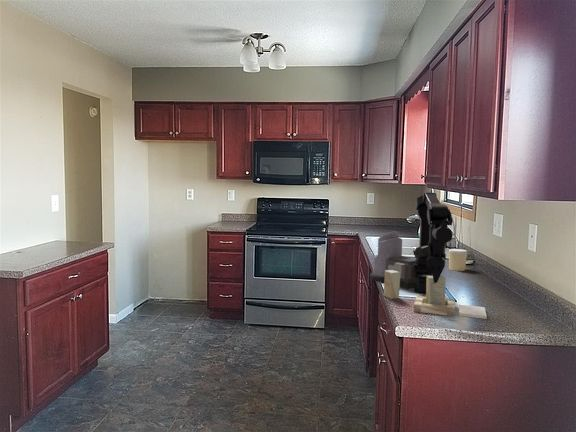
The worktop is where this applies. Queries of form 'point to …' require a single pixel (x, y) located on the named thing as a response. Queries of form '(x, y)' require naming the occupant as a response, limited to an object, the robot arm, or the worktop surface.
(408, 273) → the juicer
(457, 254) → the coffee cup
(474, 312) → the tile
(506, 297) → the worktop surface
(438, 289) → the skincare box
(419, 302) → the frame
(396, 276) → the box
